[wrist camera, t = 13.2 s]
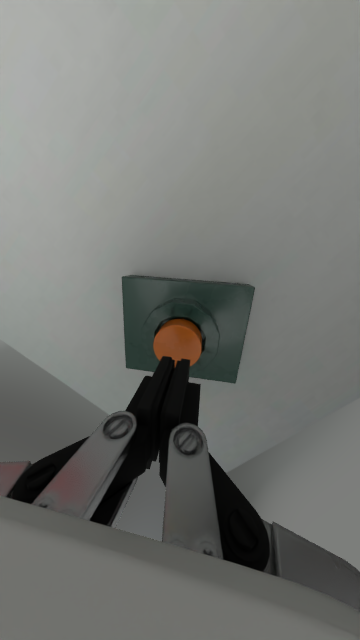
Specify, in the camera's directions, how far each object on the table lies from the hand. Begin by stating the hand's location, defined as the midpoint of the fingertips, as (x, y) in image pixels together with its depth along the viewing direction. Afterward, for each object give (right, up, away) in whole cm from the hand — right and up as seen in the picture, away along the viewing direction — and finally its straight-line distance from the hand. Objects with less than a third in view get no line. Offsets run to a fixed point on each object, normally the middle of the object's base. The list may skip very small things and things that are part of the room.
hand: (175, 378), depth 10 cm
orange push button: (0, +2, +5) cm, 6 cm away
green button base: (+1, +3, +9) cm, 9 cm away
